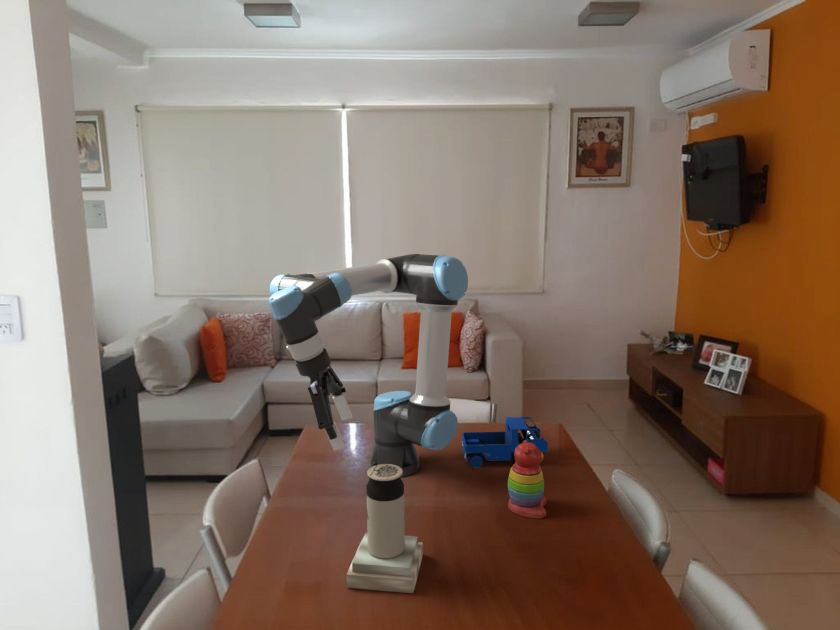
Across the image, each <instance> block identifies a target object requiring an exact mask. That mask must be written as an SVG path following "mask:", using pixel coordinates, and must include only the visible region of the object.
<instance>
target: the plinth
mask: <svg viewBox="0 0 840 630" xmlns="http://www.w3.org/2000/svg"><path fill="white" fill-rule="evenodd" d="M358 545H359V546H358V547H357V550H356V552H355V554H354V557H353V559H352V561H351V564H350V566H349V568H348V570H347V572H346V575H345V576H346V588H348V589H359V590H369V591H370V590H371V591H381V592H392V593H395V592H396V593H405V594H414V593H415V592H414V591H415V589H416V585H417V580H418V576H419V572H420V569H421V563H422V559H423V555H424V548H423V547H424V543H423V542H422V541H421V542H419V538H418V536H416V535H405V549H404V551H403V552H402V553H401V554H400V555H398V556H395V557H392V558H379V557H375V556H373V555H371V554H370V553H369V551H368V535H367V532H365V533H364V535H363V537H362V538H361V541H360V542H359V544H358Z"/></svg>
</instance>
